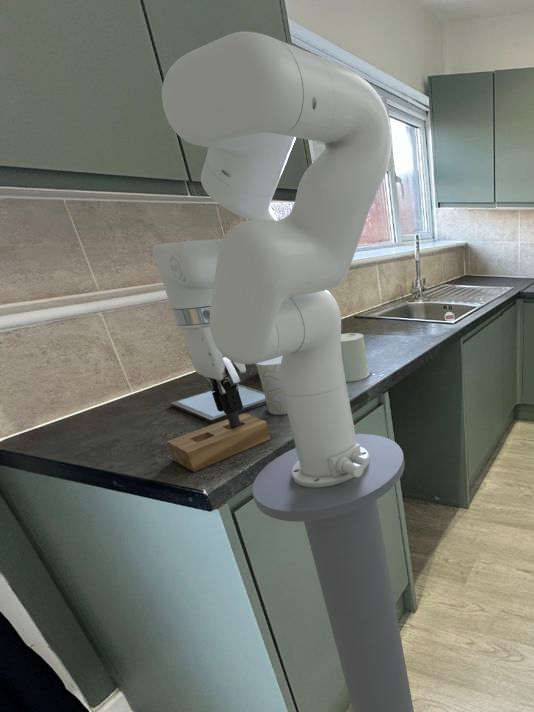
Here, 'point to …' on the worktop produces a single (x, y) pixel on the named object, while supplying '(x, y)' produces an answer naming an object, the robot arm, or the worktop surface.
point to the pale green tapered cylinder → (354, 357)
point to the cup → (272, 385)
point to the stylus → (233, 418)
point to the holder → (217, 442)
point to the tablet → (206, 406)
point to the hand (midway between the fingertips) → (230, 409)
